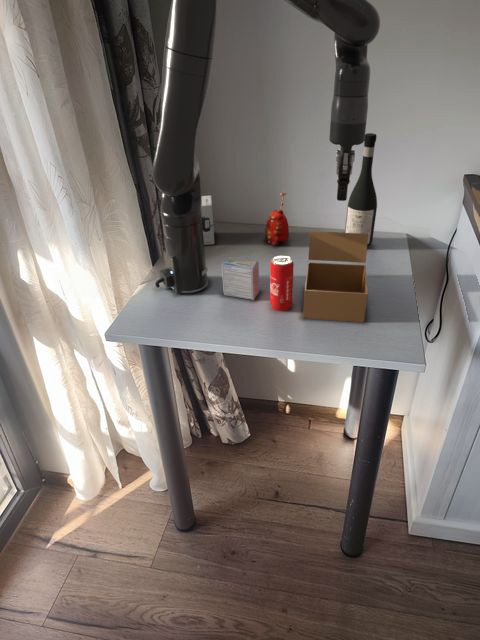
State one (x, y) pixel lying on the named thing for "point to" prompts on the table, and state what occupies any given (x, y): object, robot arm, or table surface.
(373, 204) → the wine bottle
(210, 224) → the ink box
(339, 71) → the robot arm
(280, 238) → the red rounded body
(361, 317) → the carton
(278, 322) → the table surface
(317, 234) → the flap
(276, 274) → the beverage can
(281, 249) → the table surface
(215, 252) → the table surface
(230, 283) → the medicine box
